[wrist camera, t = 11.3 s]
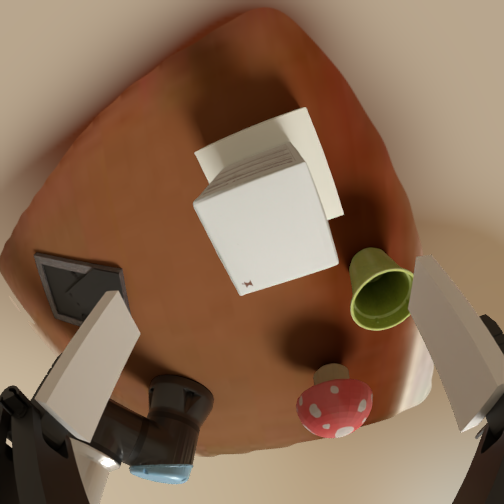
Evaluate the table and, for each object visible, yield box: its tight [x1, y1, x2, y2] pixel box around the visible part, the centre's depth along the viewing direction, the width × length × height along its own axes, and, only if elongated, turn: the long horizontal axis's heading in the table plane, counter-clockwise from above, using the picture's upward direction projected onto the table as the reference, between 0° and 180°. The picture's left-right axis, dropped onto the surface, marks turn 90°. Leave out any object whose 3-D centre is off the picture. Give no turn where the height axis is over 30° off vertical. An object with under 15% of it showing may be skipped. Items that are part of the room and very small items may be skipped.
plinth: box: [194, 107, 344, 220], centre depth 31 cm, size 12×12×6 cm
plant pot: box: [349, 247, 414, 330], centre depth 34 cm, size 9×9×9 cm
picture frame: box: [34, 253, 131, 327], centre depth 45 cm, size 16×2×21 cm
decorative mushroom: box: [296, 363, 372, 438], centre depth 42 cm, size 13×13×15 cm
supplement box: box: [193, 142, 339, 295], centre depth 22 cm, size 7×7×13 cm
